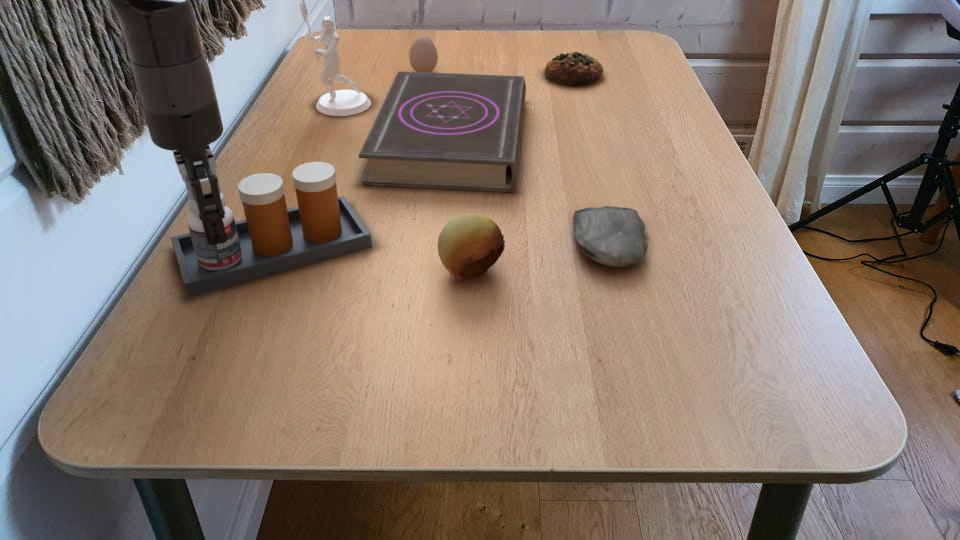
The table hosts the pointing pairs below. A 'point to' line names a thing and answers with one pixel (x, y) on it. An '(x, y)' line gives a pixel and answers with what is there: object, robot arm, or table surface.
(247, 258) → the tray
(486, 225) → the fruit
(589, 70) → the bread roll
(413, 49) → the egg
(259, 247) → the amber bottle middle
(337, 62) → the figurine
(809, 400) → the table surface
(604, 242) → the stone
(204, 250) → the pill bottle
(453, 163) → the book
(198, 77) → the robot arm
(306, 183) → the amber bottle far
